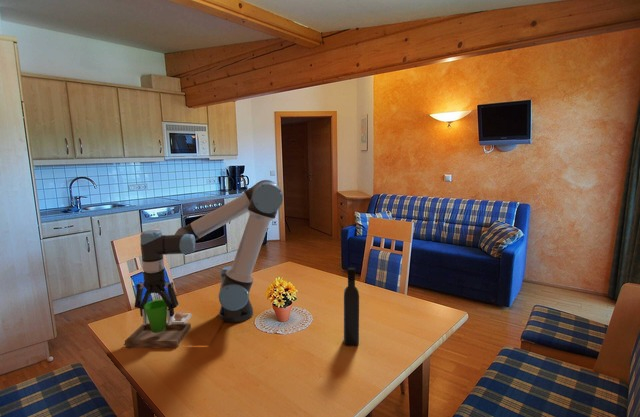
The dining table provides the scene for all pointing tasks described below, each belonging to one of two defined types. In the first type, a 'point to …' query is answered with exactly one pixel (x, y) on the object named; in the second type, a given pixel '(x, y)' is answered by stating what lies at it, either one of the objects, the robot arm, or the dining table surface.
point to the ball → (178, 316)
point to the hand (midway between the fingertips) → (158, 323)
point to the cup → (156, 315)
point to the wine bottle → (351, 310)
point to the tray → (158, 336)
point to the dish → (183, 320)
